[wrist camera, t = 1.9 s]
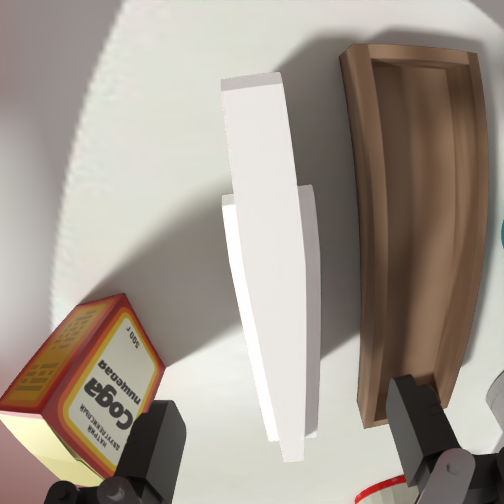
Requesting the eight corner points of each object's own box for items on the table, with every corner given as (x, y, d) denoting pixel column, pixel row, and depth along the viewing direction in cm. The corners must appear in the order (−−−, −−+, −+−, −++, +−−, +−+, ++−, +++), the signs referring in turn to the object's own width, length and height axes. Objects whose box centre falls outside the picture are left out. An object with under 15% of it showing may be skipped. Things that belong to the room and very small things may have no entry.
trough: (449, 60, 19) (476, 53, 16) (434, 383, 32) (446, 407, 28) (338, 56, 20) (353, 44, 16) (356, 400, 33) (363, 428, 29)
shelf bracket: (263, 377, 32) (255, 463, 20) (230, 125, 28) (198, 80, 16) (315, 372, 32) (331, 457, 19) (290, 117, 27) (300, 66, 15)
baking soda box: (165, 367, 32) (120, 497, 17) (117, 374, 33) (64, 486, 18) (124, 292, 29) (37, 418, 14) (76, 305, 30) (-11, 412, 15)
